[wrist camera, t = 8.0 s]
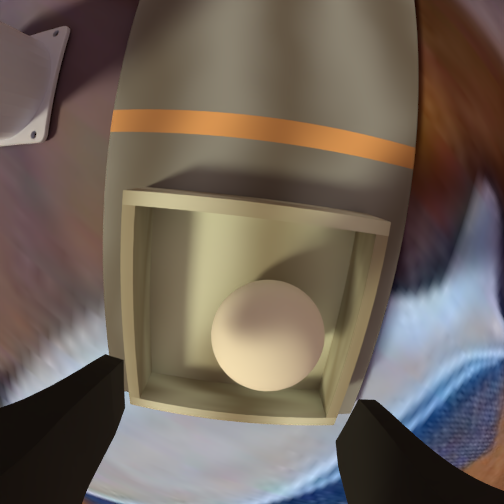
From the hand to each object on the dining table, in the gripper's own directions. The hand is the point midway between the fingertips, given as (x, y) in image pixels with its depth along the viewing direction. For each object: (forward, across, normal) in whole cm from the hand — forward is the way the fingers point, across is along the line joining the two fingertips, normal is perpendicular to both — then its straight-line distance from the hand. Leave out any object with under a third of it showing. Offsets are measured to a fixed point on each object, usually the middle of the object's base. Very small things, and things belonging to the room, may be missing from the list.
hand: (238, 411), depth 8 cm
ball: (+5, -1, 0) cm, 5 cm away
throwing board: (+9, +1, -7) cm, 11 cm away
